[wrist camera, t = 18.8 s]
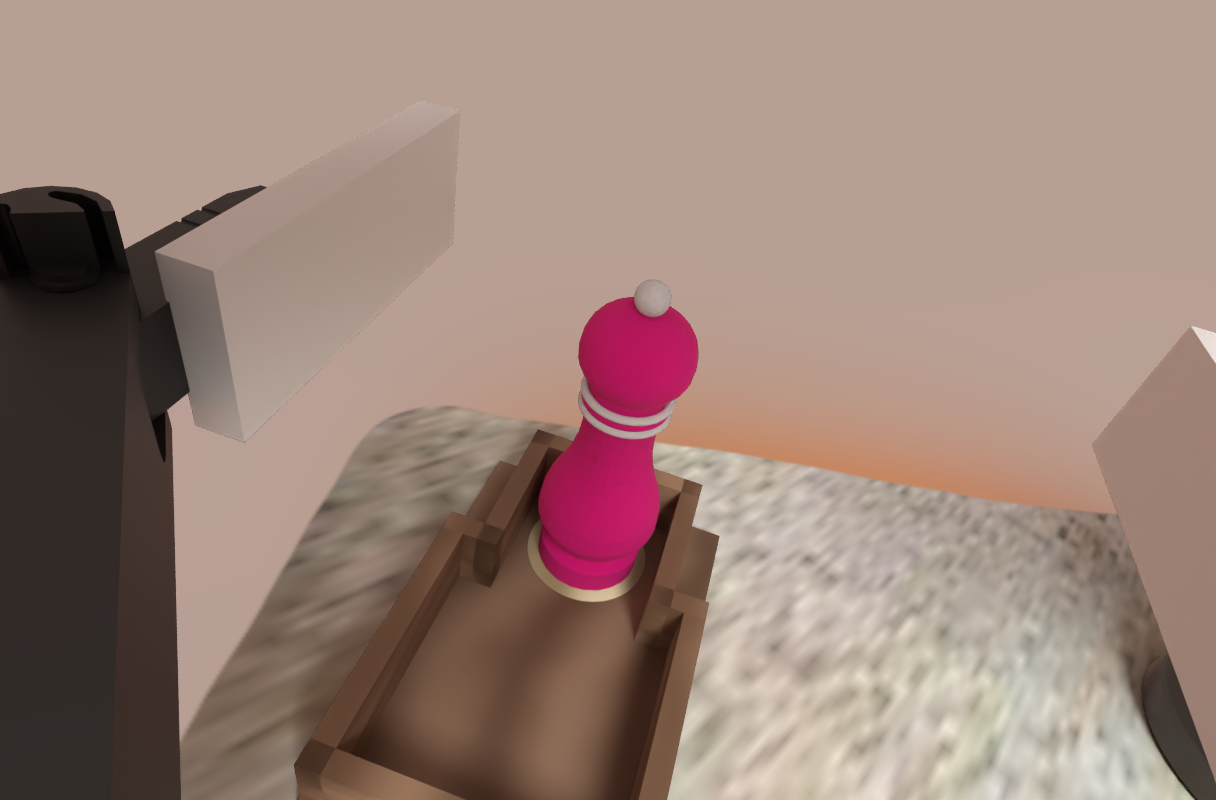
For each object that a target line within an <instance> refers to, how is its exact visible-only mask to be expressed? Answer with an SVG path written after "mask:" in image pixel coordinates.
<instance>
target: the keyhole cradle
mask: <svg viewBox="0 0 1216 800" xmlns="http://www.w3.org/2000/svg"><path fill="white" fill-rule="evenodd" d="M572 442H573V441H571V440H568V439H565V438H562V437H559V436H556V435H553V434H550V433H547V432H544V431H541V430H537V432H536V434H535V436H534V438H533V439H532V441H531V443H530V445H529V446H528V448H527V450H526V452H525V453H524V455H523V457H522V459H521V460H520V462H519V464H518V466H514V465H512V464H509V463H506V462H503V461H500V462H499V464H498V466H497V467H496V469H495V471H494V472H493V474H492V476H491V477H490V479H489V481H488V482H487V484H486V486H485V487H484V489H483V491H482V492H481V494H480V496H479V497H478V499H477V501H476V502H475V504H474V506H473V507H472V509H471V511H470V512H469V514H468V516H467V517H466V516H463V515H460V514H457V513H455V512H452V513H451V515H450V517H449V518H448V520H447V521H446V523H445V525H444V526H443V528H442V529H441V531H440V533H439V534H438V536H437V537H436V539H435V541H434V542H433V544H432V545H431V547H430V548H429V550H428V552H427V553H426V555H425V556H424V558H423V560H422V561H421V563H420V564H419V566H418V568H417V569H416V571H415V572H414V574H413V576H412V577H411V579H410V580H409V582H408V584H407V585H406V587H405V588H404V590H403V592H402V593H401V595H400V596H399V598H398V600H397V601H396V603H395V604H394V606H393V607H392V609H391V611H390V612H389V614H388V615H387V617H386V619H385V620H384V622H383V623H382V625H381V627H380V628H379V630H378V631H377V633H376V635H375V636H374V638H373V639H372V641H371V643H370V644H369V646H368V647H367V649H366V651H365V652H364V654H363V655H362V657H361V659H360V660H359V662H358V663H357V665H356V667H355V668H354V670H353V671H352V673H351V674H350V676H349V678H348V679H347V681H346V682H345V684H344V686H343V687H342V689H341V690H340V692H339V694H338V695H337V697H336V698H335V700H334V702H333V703H332V705H331V706H330V708H329V710H328V711H327V713H326V714H325V716H324V718H323V719H322V721H321V722H320V724H319V726H318V727H317V729H316V730H315V732H314V734H313V735H312V737H311V738H310V740H309V741H308V743H307V745H306V746H305V748H304V749H303V751H302V753H301V754H300V756H299V757H298V759H297V761H296V762H295V764H294V768H295V773H296V778H297V783H298V788H299V793H300V795H299V797H298V799H297V800H667V797H668V793H669V788H670V783H671V779H672V774H673V769H674V765H675V760H676V755H677V751H678V746H679V741H680V736H681V732H682V727H683V722H684V718H685V713H686V708H687V704H688V699H689V694H690V690H691V685H692V680H693V676H694V671H695V666H696V662H697V657H698V652H699V648H700V643H701V638H702V634H703V629H704V624H705V620H706V615H707V610H708V605H709V602H706V601H705V600H706V595H707V591H708V586H709V582H710V577H711V572H712V568H713V563H714V559H715V554H716V550H717V545H718V540H719V536H718V535H715V534H712V533H709V532H706V531H703V530H700V529H697V528H695V527H692V523H693V519H694V515H695V511H696V508H697V504H698V500H699V496H700V492H701V489H702V485H701V484H698V483H695V482H692V481H689V480H686V479H683V478H680V477H677V476H674V475H671V474H668V473H665V472H662V471H659V470H656V469H654V473H655V476H656V480H657V484H658V487H659V505H660V509H659V514H658V518H657V523H656V526H655V530H654V532H653V534H652V535H651V537H650V539H649V540H648V542H647V543H646V544H645V545H644V546H643V547H641V548H640V549H639V552H638V555H637V558H636V561H635V564H634V567H633V569H632V570H631V572H630V574H629V575H628V576H627V577H626V578H625V579H624V580H623V581H622V582H620V583H618V584H617V585H615V586H613V587H610V588H607V589H602V590H582V589H578V588H574V587H570V586H568V585H567V584H565V583H563V582H561V581H560V580H558V579H556V578H555V577H554V576H553V575H552V574H551V573H550V572H549V571H548V569H547V568H546V567H545V565H544V563H543V561H542V559H541V557H540V553H539V538H540V533H541V528H542V521H541V518H540V514H539V495H540V491H541V488H542V485H543V482H544V479H545V477H546V474H547V473H548V471H549V470H550V468H551V466H552V465H553V463H554V462H555V461H556V459H557V458H558V457H559V456H560V455H561V454H562V453H563V452H564V451H565V450H566V449H567V448H568V447H569V446H570V444H571V443H572Z"/></svg>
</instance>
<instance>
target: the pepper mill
mask: <svg viewBox="0 0 1216 800" xmlns="http://www.w3.org/2000/svg"><path fill="white" fill-rule="evenodd" d="M670 304H671V293H670V290H669V288H668V287H667V286H666V285H665V284H664V283H663V282H661V281H658V280H647V281H645V282H643V283H642V284H641V285H639V286H638V288H637V290H636V292H635V295H634V297H628V298H622V299H617V300H615V301H613V302H610V303H607V304H606V305H604V306H603V307H601V308H600V309H599V310H598V311H596V312H595V313H594V314H593V316H592V317H591V318H590V319H589V321H588V323H587V324H586V326H585V328H584V331H583V333H582V336H581V339H580V343H579V355H578V358H579V363H580V366H581V369H582V371H583V374H584V377H583V379H582V383H581V390H580V393H579V398H578V403H579V407H580V410H581V412H582V414H583V421H582V424H581V426H580V429H579V432H578V434H577V435H576V437H575V439H574V441H573V442H572V443H571V444H570V446H569V447H568V448H567V449H566V450H565V451H564V452H563V453H562V454H561V455H560V456H559V457H558V458H557V459H556V461H555V462H554V463H553V465H552V466H551V468H550V470H549V471H548V473H547V474H546V477H545V479H544V482H543V485H542V488H541V491H540V495H539V514H540V518H541V521H542V528H541V533H540V538H539V553H540V557H541V559H542V561H543V563H544V565H545V567H546V568H547V569H548V571H549V572H550V573H551V574H552V575H553V576H554V577H555V578H556V579H558V580H560V581H561V582H563V583H565V584H567V585H568V586H570V587H574V588H578V589H582V590H602V589H607V588H610V587H613V586H615V585H617V584H618V583H620V582H622V581H623V580H624V579H625V578H626V577H627V576H628V575H629V574H630V572H631V570H632V569H633V567H634V564H635V561H636V558H637V555H638V552H639V549H640V548H641V547H643V546H644V545H645V544H646V543H647V542H648V540H649V539H650V537H651V535H652V534H653V532H654V530H655V526H656V523H657V518H658V514H659V509H660V505H659V487H658V484H657V480H656V476H655V473H654V467H653V456H652V451H653V446H654V440H655V436H656V434H658V433H660V432H661V431H662V430H664V428H666V426H667V425H668V423H669V421H670V418H671V412H672V411H673V409H674V406H675V399H676V398H678V397H679V396H680V395H681V394H682V393H683V392H684V391H685V390H686V389H687V388H688V386H689V385H690V384H691V381H692V379H693V376H694V374H695V372H696V368H697V363H698V344H697V339H696V336H695V334H694V332H693V329H692V328H691V325H690V324H689V323H688V321H687V320H686V319H685V318H684V317H683V316H682V315H681V314H680V313H679V312H678V311H676V310H675V309H673V308H672V307H671V306H670Z"/></svg>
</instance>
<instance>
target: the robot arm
mask: <svg viewBox="0 0 1216 800" xmlns="http://www.w3.org/2000/svg"><path fill="white" fill-rule="evenodd" d="M459 120H460V111H459V110H456V109H452V108H449V107H445V106H441V105H438V104H435V103H432V102H428V101H425V100H420V101H418V102H417V103H415V104H413V105H411V106H410V107H408V108H406V109H404V110H403V111H401V112H399V113H397V114H396V115H394V116H392V117H391V118H388V119H387V120H385V121H383V122H381V123H380V124H378V125H376V126H374V127H373V128H371V129H369V130H367V131H366V132H364V133H362V134H361V135H359V136H357V137H355V138H353V139H352V140H350V141H348V142H346V143H345V144H343V145H341V146H339V147H338V148H336V149H334V150H332V151H331V152H329V153H327V154H325V155H324V156H322V157H320V158H318V159H316V160H315V161H313V162H311V163H310V164H308V165H306V166H304V167H302V168H301V169H299V170H297V171H295V172H294V173H292V174H290V175H288V176H287V177H285V178H283V179H281V180H280V181H278V182H276V183H274V184H273V185H271V186H269V187H264V186H261V185H260V186H257V187H252V188H248V189H244V190H240V191H236V192H232V193H228V194H226V195H224V196H222V197H220V198H218V199H216V200H214V201H213V202H211V203H209V204H207V205H205V206H203V207H202V210H201V211H199V210H196V211H194V212H192V213H190V214H189V215H187V216H185V217H183V218H182V221H181V222H178V221H176V222H174V223H172V224H170V225H168V226H167V227H165V228H163V229H161V230H159V231H157V232H155V233H154V234H152V235H150V236H148V237H146V238H144V239H143V240H141V241H139V242H137V243H135V244H134V245H132V246H130V247H128V248H126V249H124V245H123V242H122V238H121V234H120V230H119V227H118V223H117V219H116V215H115V211H114V209H113V206H112V204H111V202H110V200H108V199H106V198H104V197H103V196H101V195H100V194H98V193H95V192H92V191H87V190H84V189H80V188H75V187H74V188H73V187H58V186H45V187H34V188H23V189H19V190H16V191H11V192H7V193H3V194H0V800H181V782H180V741H179V701H178V660H177V623H176V622H177V621H176V620H177V619H176V579H175V540H174V539H175V538H174V500H173V499H174V497H173V456H172V428H171V423H170V419H169V416H168V412H167V409H169V408H170V407H171V406H172V405H174V404H175V403H176V402H177V401H179V400H180V399H181V398H182V397H183V396H185V395H186V394H187V393H188V396H189V400H190V404H191V408H192V413H193V417H194V421H195V425H196V426H199V427H202V428H204V429H207V430H210V431H213V432H216V433H218V434H221V435H224V436H227V437H230V438H233V439H235V440H238V441H241V442H244V443H245V442H246V441H247V440H248V439H249V438H250V437H251V436H252V435H253V434H254V433H255V432H256V431H257V430H258V429H259V428H260V427H261V426H262V425H264V424H265V423H266V422H267V421H268V420H269V419H270V418H271V417H272V416H273V415H274V414H275V413H276V412H277V411H278V410H279V409H280V408H281V407H282V406H283V405H284V404H285V403H286V402H288V401H289V400H290V399H291V398H292V397H293V396H294V395H295V394H296V393H297V392H298V391H299V390H300V389H301V388H302V387H303V386H304V385H305V384H307V383H308V382H309V381H310V379H312V378H313V377H314V376H315V375H316V374H317V373H318V372H319V371H320V370H321V369H322V368H323V367H324V366H325V365H326V364H327V363H328V362H329V361H331V360H332V359H333V358H334V357H335V356H336V355H337V354H338V353H339V352H340V351H341V350H342V349H343V348H344V347H345V346H346V345H347V344H348V343H349V342H350V341H351V340H352V339H354V338H355V337H356V336H357V335H358V334H359V333H360V332H361V331H362V330H363V329H364V328H365V327H366V326H367V325H368V324H369V323H370V322H371V321H372V320H373V319H374V318H376V316H378V315H379V314H380V313H381V312H382V311H383V310H384V309H385V308H386V307H387V306H388V305H389V304H390V303H391V302H392V301H393V300H394V299H395V298H396V297H398V296H399V295H400V294H401V293H402V292H403V291H404V290H405V289H406V288H407V287H408V286H409V285H410V284H411V283H412V282H413V281H414V280H415V279H416V278H417V277H418V276H419V275H420V274H422V273H423V272H424V271H425V270H426V269H427V268H428V267H429V266H430V265H431V264H432V263H433V262H434V261H435V260H436V259H437V258H438V257H439V256H440V255H441V254H443V253H444V252H445V251H446V250H447V249H448V248H449V247H450V246H451V245H452V244H453V231H454V212H455V194H456V174H457V157H458V138H459ZM1092 446H1093V449H1094V452H1095V454H1096V457H1097V460H1098V463H1099V465H1100V468H1101V471H1102V473H1103V476H1104V479H1105V482H1106V484H1107V487H1108V490H1109V493H1110V495H1111V498H1112V501H1113V503H1114V506H1115V509H1116V512H1117V514H1118V517H1119V520H1120V523H1121V525H1122V528H1123V531H1124V534H1125V536H1126V539H1127V542H1128V544H1129V547H1130V550H1131V553H1132V555H1133V558H1134V561H1135V564H1136V566H1137V569H1138V572H1139V574H1140V577H1141V580H1142V583H1143V585H1144V588H1145V591H1146V593H1147V596H1148V599H1149V602H1150V604H1151V607H1152V610H1153V613H1154V615H1155V618H1156V621H1157V623H1158V626H1159V629H1160V632H1161V634H1162V637H1163V640H1164V643H1165V645H1166V648H1167V650H1166V651H1165V652H1164V653H1162V654H1161V655H1160V656H1159V657H1158V658H1156V659H1155V660H1154V661H1153V662H1152V663H1151V664H1150V666H1149V667H1148V669H1147V671H1146V673H1145V676H1144V680H1143V688H1142V690H1143V703H1144V708H1145V712H1146V715H1147V719H1148V722H1149V724H1150V727H1151V729H1152V732H1153V734H1154V736H1155V738H1156V740H1157V742H1158V744H1159V746H1160V748H1161V750H1162V752H1163V753H1164V755H1165V757H1166V758H1167V760H1168V761H1169V763H1170V764H1171V766H1172V767H1173V769H1174V770H1175V772H1176V773H1177V775H1178V776H1179V777H1180V779H1181V780H1182V781H1183V783H1184V784H1185V785H1186V786H1187V788H1188V789H1189V790H1190V791H1191V793H1192V794H1193V795H1194V796H1195V797H1196V798H1197V799H1198V800H1216V333H1213V332H1210V331H1206V330H1203V329H1200V328H1196V327H1193V326H1190V327H1189V328H1188V330H1187V331H1186V332H1185V333H1184V334H1183V336H1182V337H1181V338H1180V339H1179V340H1178V342H1177V343H1176V344H1175V345H1174V346H1173V348H1172V349H1171V350H1170V351H1169V352H1168V354H1167V355H1166V356H1165V357H1164V358H1163V360H1162V361H1161V362H1160V363H1159V365H1158V366H1157V367H1156V368H1155V369H1154V371H1153V372H1152V373H1151V374H1150V375H1149V376H1148V378H1147V379H1146V380H1145V381H1144V382H1143V384H1142V385H1141V386H1140V387H1139V388H1138V390H1137V391H1136V392H1135V393H1134V394H1133V396H1132V397H1131V398H1130V399H1129V401H1128V402H1127V403H1126V404H1125V405H1124V407H1123V408H1122V409H1121V410H1120V411H1119V413H1118V414H1117V415H1116V416H1115V417H1114V419H1113V420H1112V421H1111V422H1110V423H1109V425H1108V426H1107V427H1106V428H1105V429H1104V431H1103V432H1102V433H1101V434H1100V435H1099V437H1098V438H1097V439H1096V440H1095V441H1094V443H1093V444H1092Z"/></svg>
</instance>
